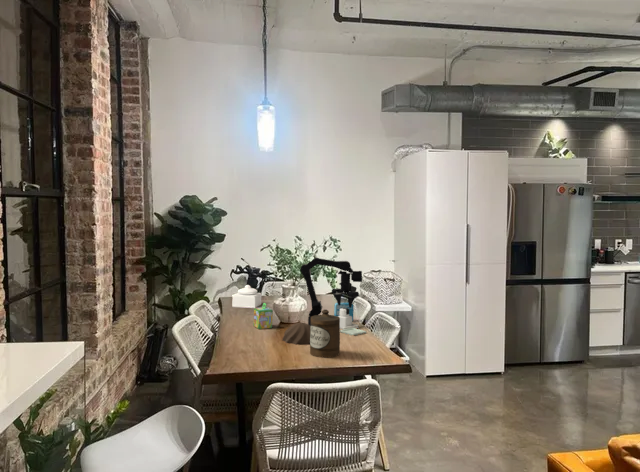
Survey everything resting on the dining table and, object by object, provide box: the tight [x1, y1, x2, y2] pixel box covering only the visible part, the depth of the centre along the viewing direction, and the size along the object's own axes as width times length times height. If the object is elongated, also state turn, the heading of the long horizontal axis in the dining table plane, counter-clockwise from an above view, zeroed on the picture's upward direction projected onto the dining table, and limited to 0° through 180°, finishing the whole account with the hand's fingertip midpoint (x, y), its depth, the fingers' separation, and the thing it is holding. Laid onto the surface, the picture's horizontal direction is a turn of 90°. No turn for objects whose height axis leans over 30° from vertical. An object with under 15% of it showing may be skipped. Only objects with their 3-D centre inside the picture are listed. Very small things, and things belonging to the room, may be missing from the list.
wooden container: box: [309, 309, 341, 358], centre depth 244 cm, size 15×15×22 cm
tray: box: [340, 328, 367, 336], centre depth 290 cm, size 11×11×1 cm
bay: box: [342, 322, 360, 330], centre depth 303 cm, size 13×13×2 cm
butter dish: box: [231, 284, 262, 309], centre depth 372 cm, size 18×18×16 cm
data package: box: [333, 302, 355, 322], centre depth 322 cm, size 12×4×12 cm, turn 101°
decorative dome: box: [281, 322, 311, 345], centre depth 270 cm, size 19×20×10 cm
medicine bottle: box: [338, 308, 353, 330], centre depth 303 cm, size 7×7×12 cm
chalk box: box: [253, 302, 274, 330], centre depth 299 cm, size 9×9×15 cm
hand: (344, 306), depth 304 cm, fingers open, 9 cm apart
